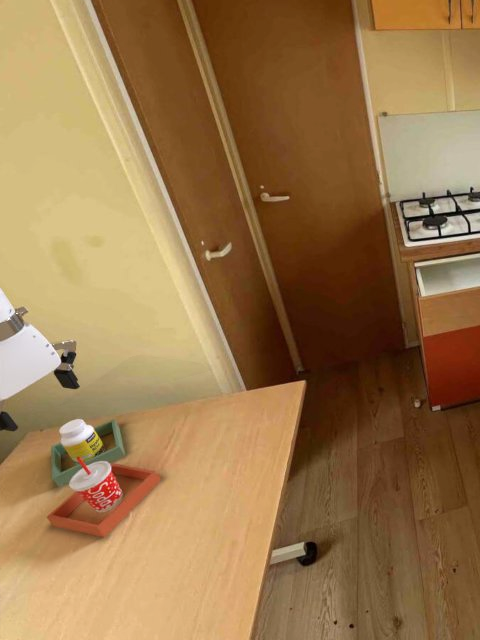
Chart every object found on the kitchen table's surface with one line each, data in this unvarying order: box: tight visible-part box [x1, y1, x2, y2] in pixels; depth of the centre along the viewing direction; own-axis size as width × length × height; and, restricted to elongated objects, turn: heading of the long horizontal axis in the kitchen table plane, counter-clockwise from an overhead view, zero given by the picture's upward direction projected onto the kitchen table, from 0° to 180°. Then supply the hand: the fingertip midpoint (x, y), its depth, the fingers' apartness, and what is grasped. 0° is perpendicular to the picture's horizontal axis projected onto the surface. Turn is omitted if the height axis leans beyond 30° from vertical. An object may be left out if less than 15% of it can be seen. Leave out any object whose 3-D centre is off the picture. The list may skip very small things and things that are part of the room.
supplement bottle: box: [58, 418, 106, 465], centre depth 96 cm, size 5×5×10 cm
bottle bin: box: [50, 418, 126, 488], centre depth 97 cm, size 11×11×4 cm
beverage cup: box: [68, 457, 124, 514], centre depth 85 cm, size 6×6×14 cm
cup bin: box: [46, 462, 161, 538], centre depth 88 cm, size 12×12×4 cm
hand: (42, 407), depth 75 cm, fingers open, 9 cm apart
